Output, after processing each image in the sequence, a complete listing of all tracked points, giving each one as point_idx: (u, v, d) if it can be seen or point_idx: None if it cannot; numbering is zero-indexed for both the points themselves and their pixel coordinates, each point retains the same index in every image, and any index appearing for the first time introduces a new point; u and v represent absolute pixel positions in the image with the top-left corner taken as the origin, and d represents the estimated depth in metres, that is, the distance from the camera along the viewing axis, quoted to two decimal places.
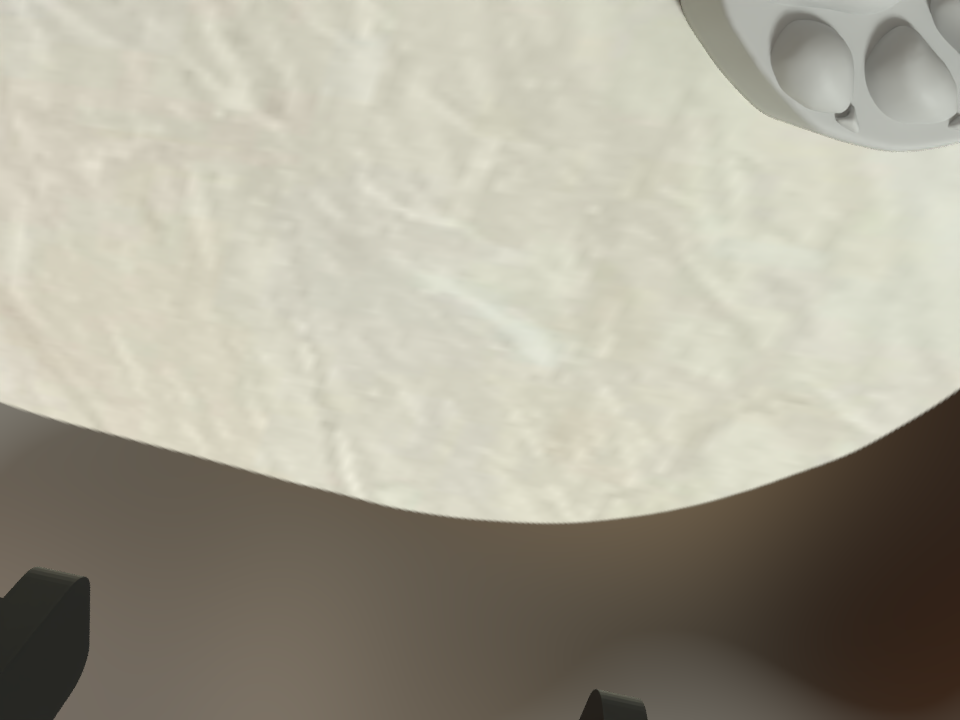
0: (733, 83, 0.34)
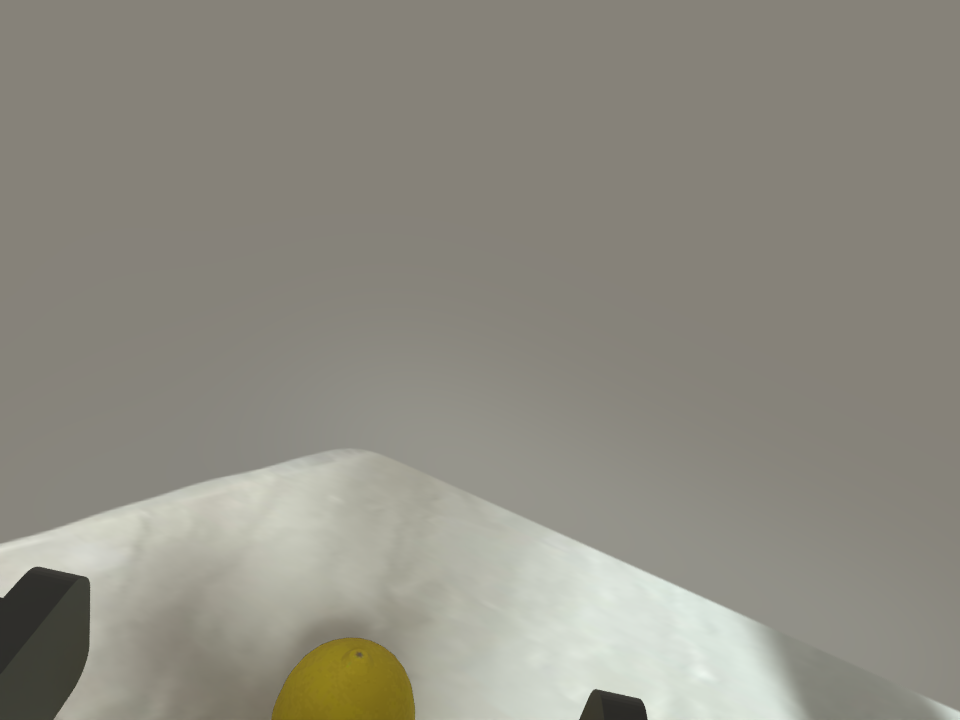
0: None
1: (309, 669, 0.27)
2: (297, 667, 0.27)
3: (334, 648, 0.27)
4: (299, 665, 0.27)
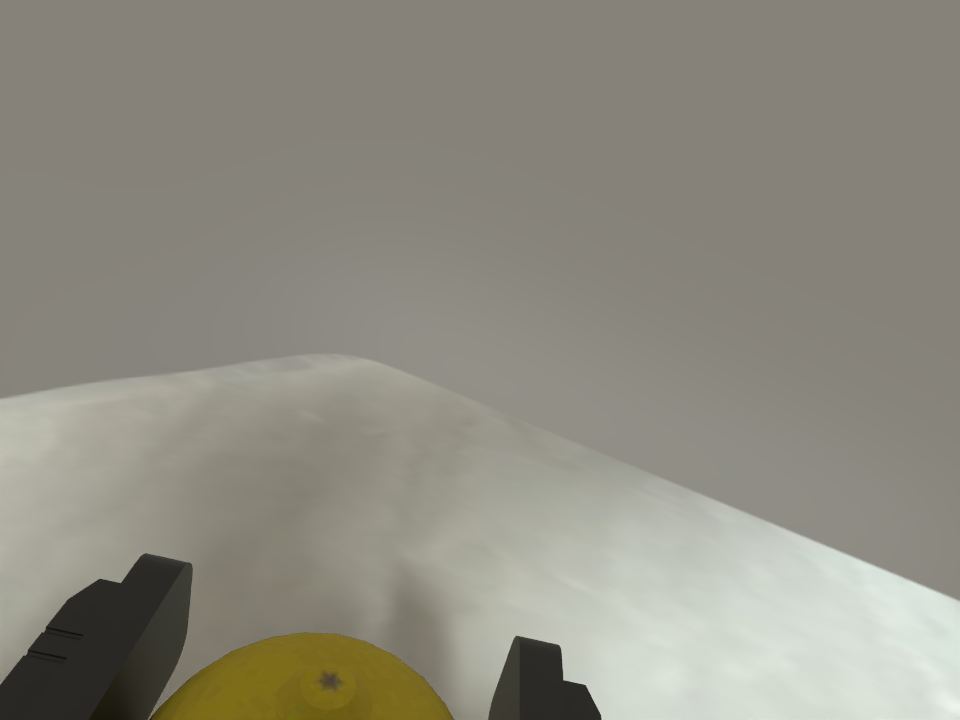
0: None
1: None
2: (157, 714, 0.10)
3: (261, 661, 0.10)
4: (162, 709, 0.10)
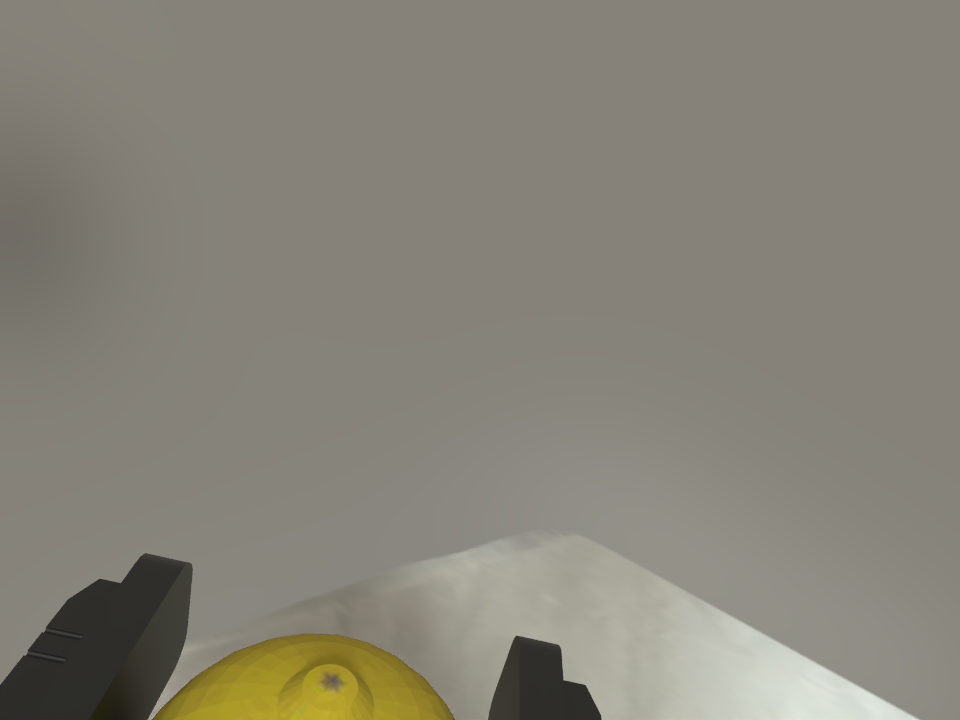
0: None
1: None
2: (159, 715, 0.10)
3: (262, 663, 0.10)
4: (165, 710, 0.10)
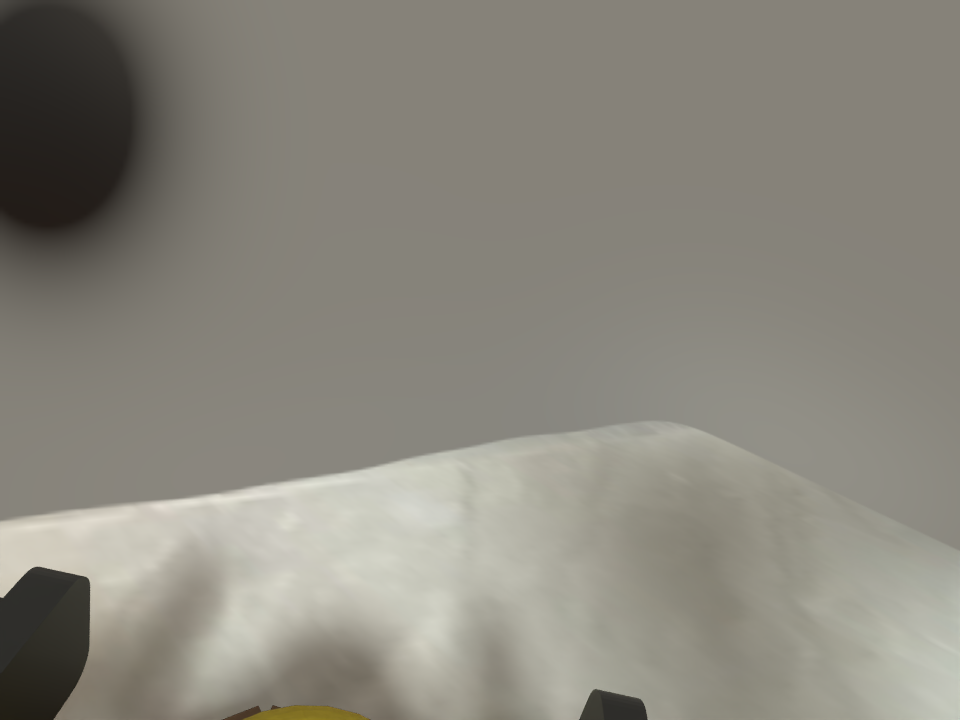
0: None
1: None
2: None
3: None
4: None
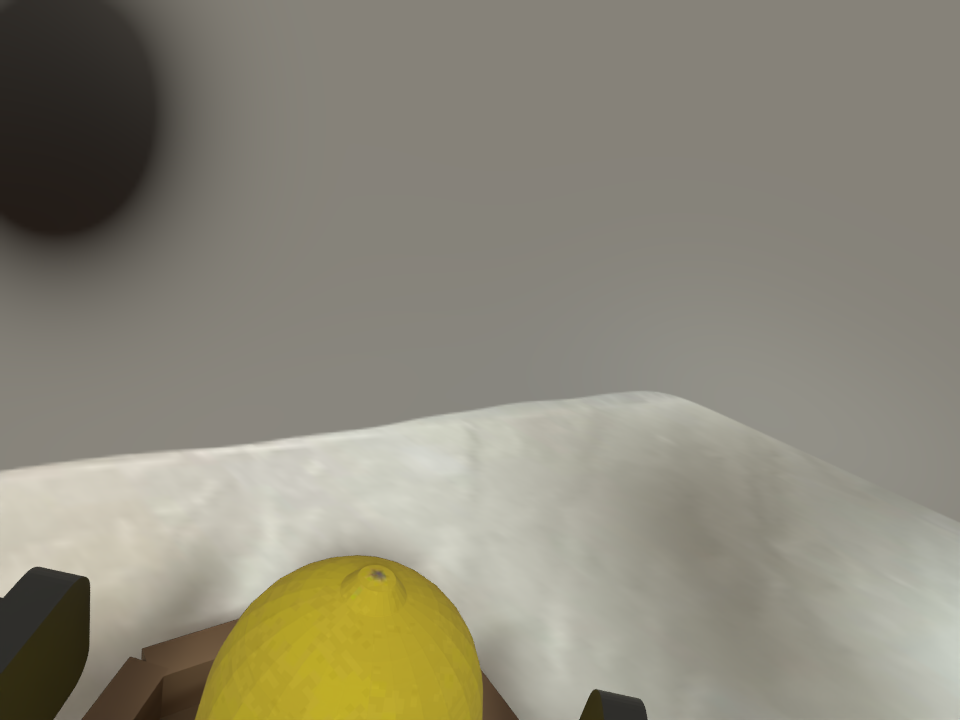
0: None
1: (273, 604, 0.13)
2: (251, 605, 0.14)
3: (326, 567, 0.14)
4: (255, 601, 0.14)
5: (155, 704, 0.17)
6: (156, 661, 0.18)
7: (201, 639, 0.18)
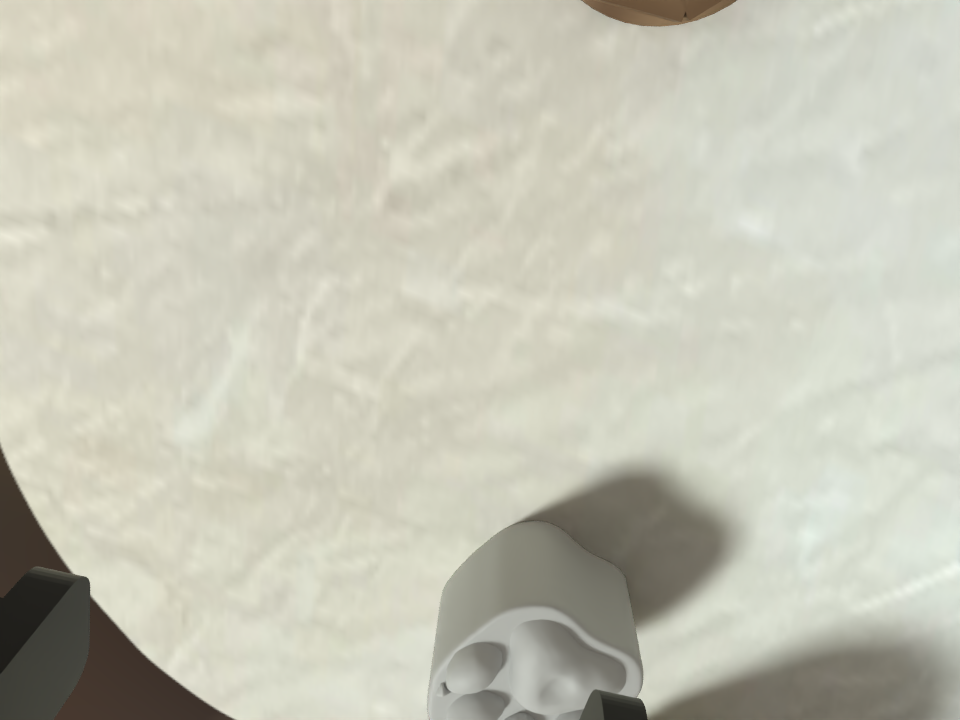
0: (462, 568, 0.46)
1: None
2: None
3: None
4: None
5: None
6: None
7: None
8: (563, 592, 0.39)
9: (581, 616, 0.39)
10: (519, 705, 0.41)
